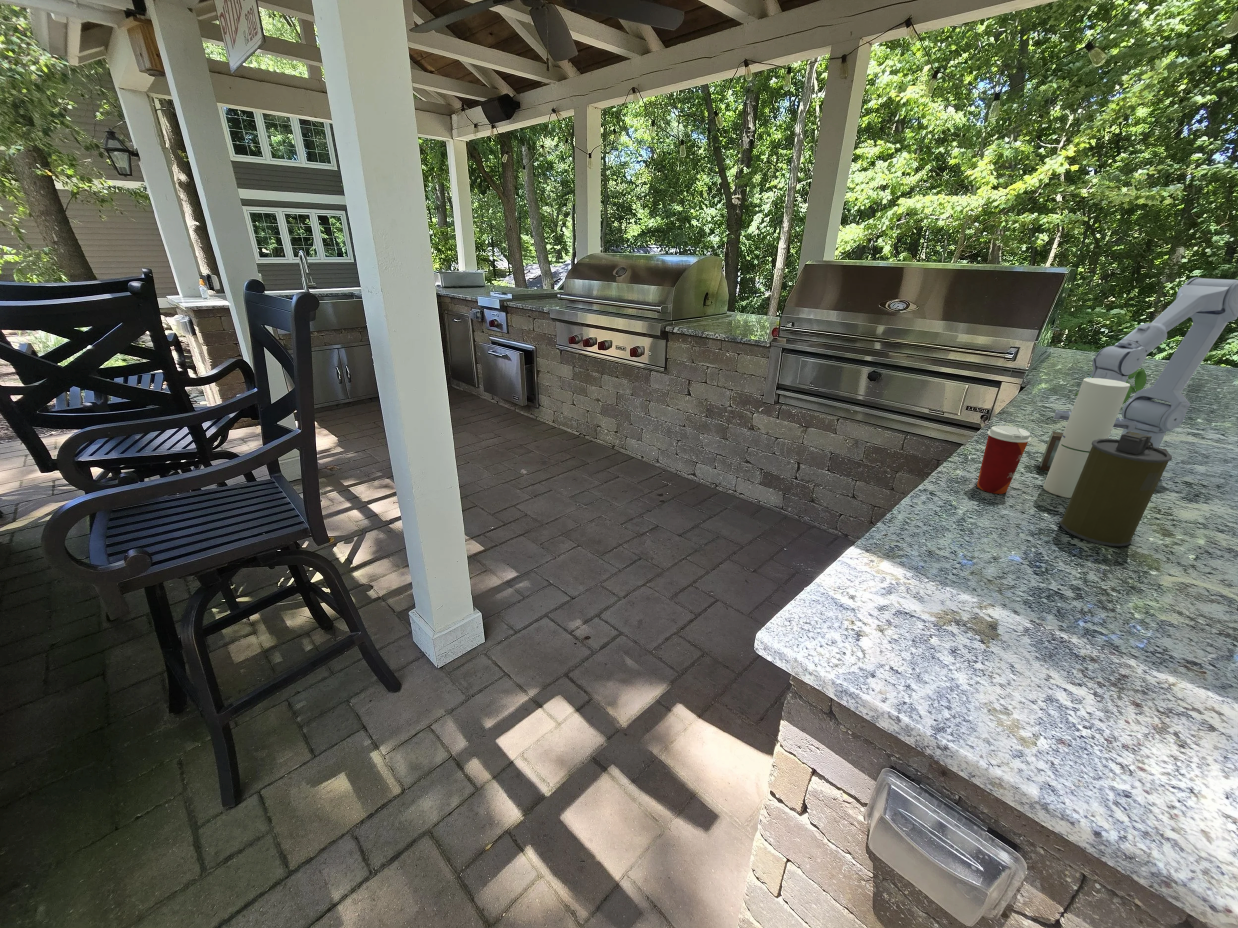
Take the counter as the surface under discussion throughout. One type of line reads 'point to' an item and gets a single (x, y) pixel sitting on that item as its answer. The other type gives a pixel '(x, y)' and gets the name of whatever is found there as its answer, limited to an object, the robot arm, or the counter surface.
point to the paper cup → (1001, 458)
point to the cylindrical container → (1084, 431)
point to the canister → (1114, 489)
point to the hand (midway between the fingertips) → (1080, 451)
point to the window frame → (1054, 450)
